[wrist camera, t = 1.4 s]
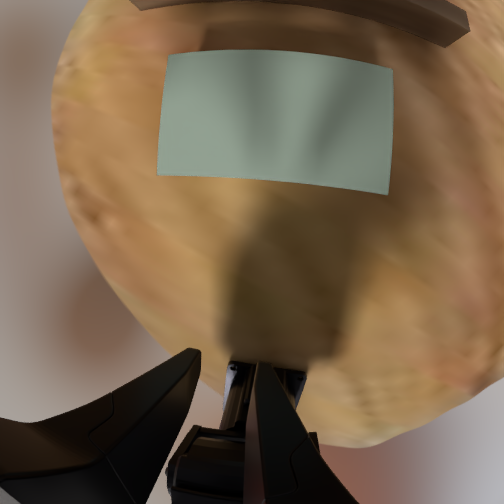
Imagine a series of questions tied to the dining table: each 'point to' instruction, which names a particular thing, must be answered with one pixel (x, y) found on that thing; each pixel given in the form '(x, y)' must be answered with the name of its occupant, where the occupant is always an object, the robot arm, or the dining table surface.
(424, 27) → the walnut board
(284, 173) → the sage block
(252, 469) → the robot arm
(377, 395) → the dining table surface
